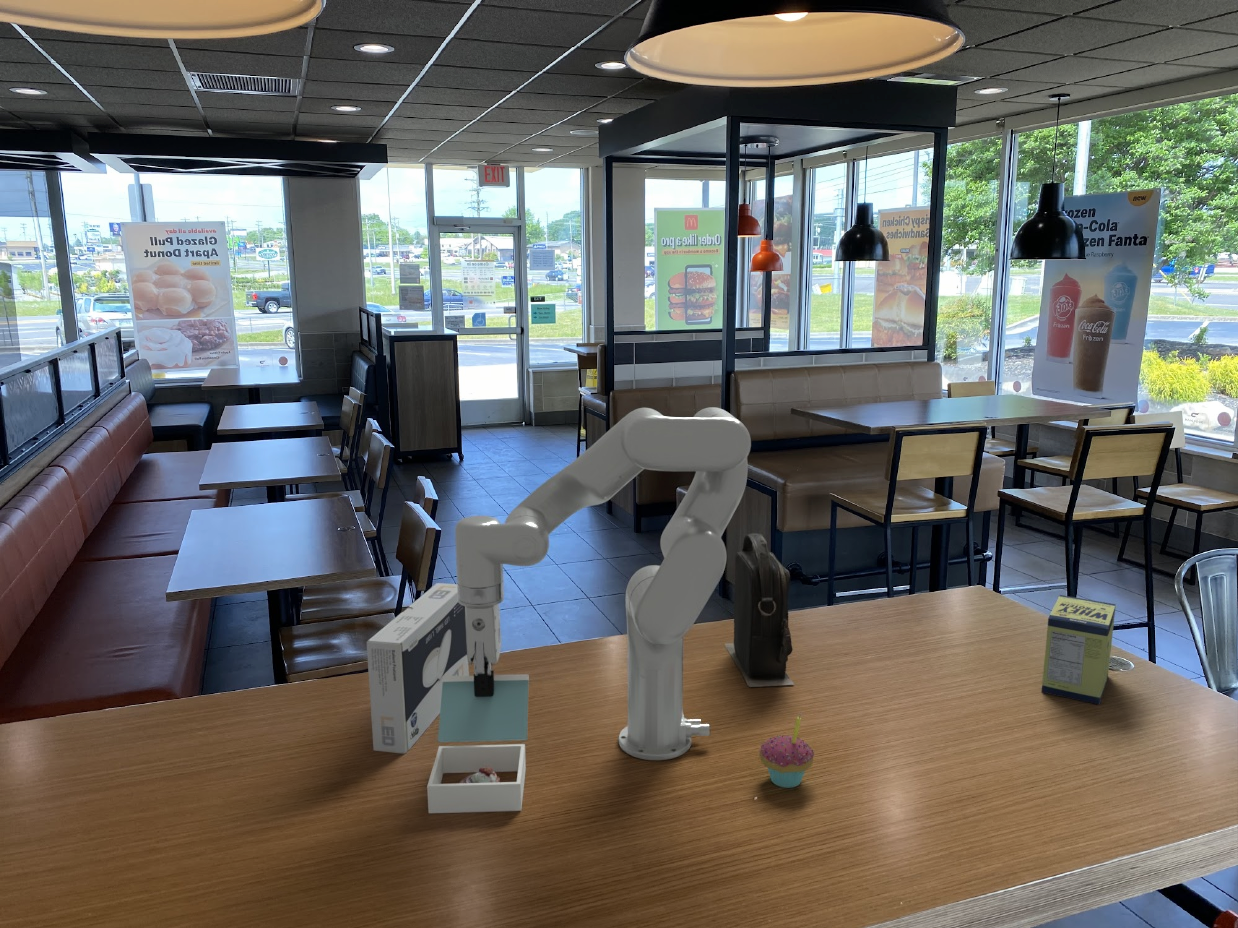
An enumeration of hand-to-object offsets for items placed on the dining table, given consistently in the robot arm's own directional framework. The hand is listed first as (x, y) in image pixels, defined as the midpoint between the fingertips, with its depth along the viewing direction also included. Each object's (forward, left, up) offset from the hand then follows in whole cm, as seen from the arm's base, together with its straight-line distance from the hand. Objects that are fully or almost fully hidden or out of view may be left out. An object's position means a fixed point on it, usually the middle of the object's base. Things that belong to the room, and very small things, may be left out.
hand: (484, 694), depth 154 cm
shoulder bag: (-53, -34, -11) cm, 64 cm away
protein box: (-114, -21, -11) cm, 116 cm away
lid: (0, +1, -2) cm, 2 cm away
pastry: (0, +14, -11) cm, 18 cm away
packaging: (+13, -16, -11) cm, 23 cm away
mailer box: (0, +12, -11) cm, 16 cm away
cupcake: (-49, +11, -11) cm, 51 cm away
